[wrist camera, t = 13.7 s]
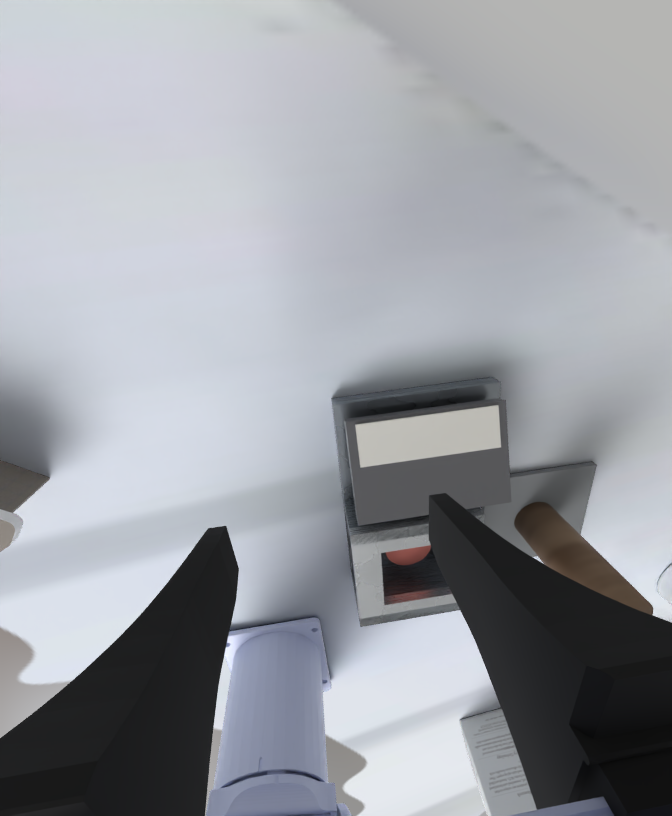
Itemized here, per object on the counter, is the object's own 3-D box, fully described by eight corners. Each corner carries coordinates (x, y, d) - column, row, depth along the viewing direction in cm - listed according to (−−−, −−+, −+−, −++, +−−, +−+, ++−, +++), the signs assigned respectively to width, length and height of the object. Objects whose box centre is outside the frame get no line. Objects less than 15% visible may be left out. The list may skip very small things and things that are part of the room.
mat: (573, 545, 28) (576, 549, 28) (476, 561, 28) (479, 565, 28) (592, 461, 25) (596, 464, 25) (483, 478, 25) (486, 481, 24)
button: (423, 544, 26) (430, 561, 25) (381, 551, 26) (386, 568, 25) (423, 510, 25) (431, 526, 24) (379, 517, 25) (384, 533, 23)
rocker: (502, 495, 21) (513, 503, 20) (356, 517, 21) (358, 526, 20) (496, 398, 21) (507, 400, 19) (343, 419, 20) (345, 422, 19)
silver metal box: (477, 556, 28) (504, 602, 24) (351, 576, 27) (360, 626, 24) (492, 376, 22) (532, 401, 18) (331, 398, 21) (338, 428, 18)
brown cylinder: (548, 531, 27) (643, 634, 20) (511, 536, 27) (592, 641, 19) (556, 499, 26) (660, 596, 18) (517, 504, 26) (607, 604, 18)
